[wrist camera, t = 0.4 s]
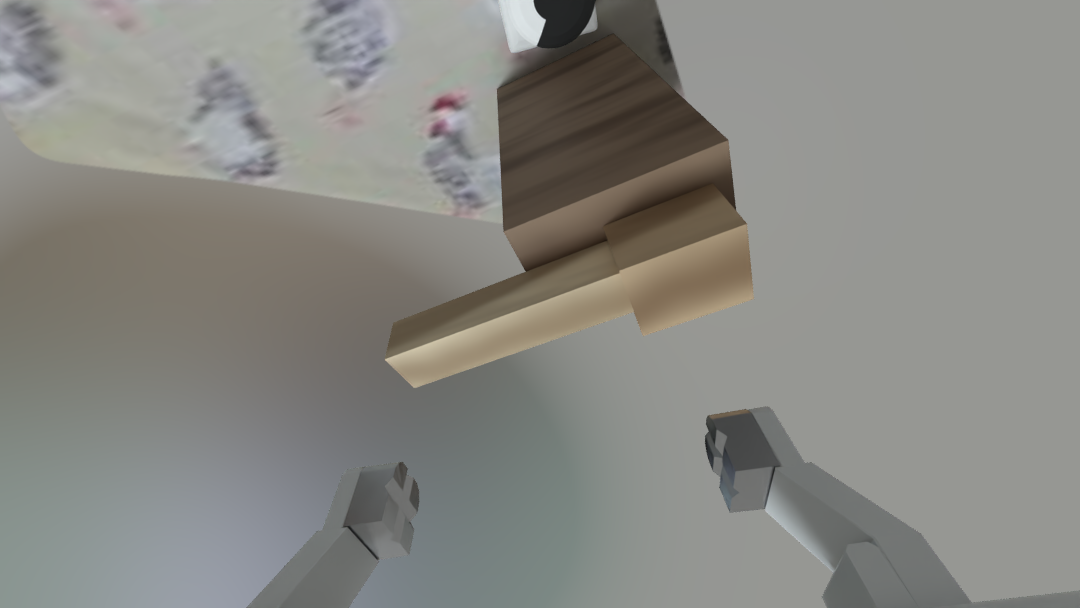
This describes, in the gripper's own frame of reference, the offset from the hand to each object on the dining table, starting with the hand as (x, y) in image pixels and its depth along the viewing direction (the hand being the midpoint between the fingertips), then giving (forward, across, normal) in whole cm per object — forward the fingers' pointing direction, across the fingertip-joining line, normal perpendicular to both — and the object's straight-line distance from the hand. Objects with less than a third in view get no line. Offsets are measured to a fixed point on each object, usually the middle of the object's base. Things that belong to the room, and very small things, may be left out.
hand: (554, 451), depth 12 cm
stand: (+40, -4, +1) cm, 41 cm away
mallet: (+15, -1, +4) cm, 15 cm away
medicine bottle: (+40, -3, -10) cm, 41 cm away
